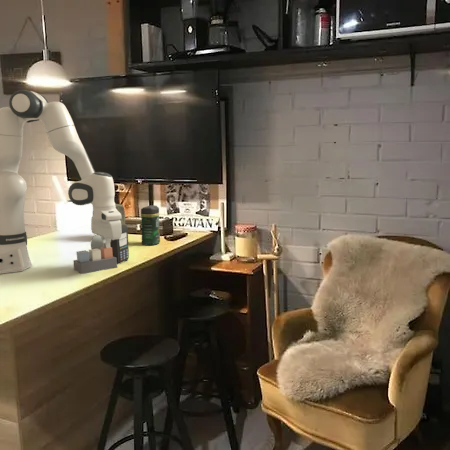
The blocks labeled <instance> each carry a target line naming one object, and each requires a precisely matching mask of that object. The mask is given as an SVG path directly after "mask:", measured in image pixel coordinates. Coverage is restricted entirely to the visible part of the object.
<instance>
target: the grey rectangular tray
mask: <svg viewBox="0 0 450 450" xmlns="http://www.w3.org/2000/svg"><path fill="white" fill-rule="evenodd" d="M115 268H116V269H117V268H118V264H117V258H116V257H112V258H106V259H104V258H101V259H100V260H94V261H92V260H89V261H88V262H82V263H80V262H77V259H73V270H74V271H75V272H76V273H79V274H82V275H83V274H88V273H94V272H99V271H106V270H111V269H115Z"/></svg>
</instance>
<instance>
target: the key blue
mask: <svg viewBox="0 0 450 450" xmlns="http://www.w3.org/2000/svg"><path fill="white" fill-rule="evenodd" d="M76 260H77V262H80V263H82V262H88V261H89V250H88V251H87V250H77V251H76Z"/></svg>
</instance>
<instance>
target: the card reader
mask: <svg viewBox="0 0 450 450" xmlns="http://www.w3.org/2000/svg"><path fill="white" fill-rule="evenodd" d="M121 230H122V234H121V238H120V239H115V240H112V239H111V242H110V245H111V247H112V252H113V257H116V258H117V265H118V264H122V263H123V262H124V263H125V261H128V260H129V258H130V253H129V231H128V230H129V229H128V226H127V225H126V224H125V225H121Z"/></svg>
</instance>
